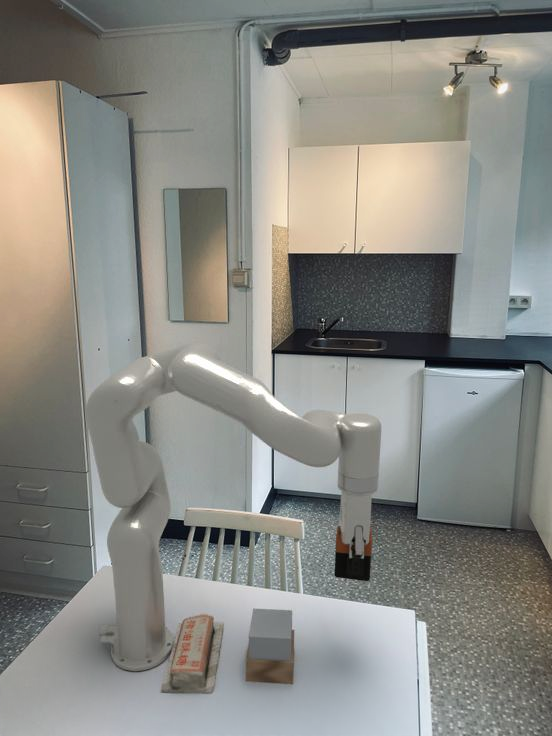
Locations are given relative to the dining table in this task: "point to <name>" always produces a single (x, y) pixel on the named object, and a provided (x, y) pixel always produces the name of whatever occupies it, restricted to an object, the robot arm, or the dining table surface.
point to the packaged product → (194, 656)
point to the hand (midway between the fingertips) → (353, 565)
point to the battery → (341, 558)
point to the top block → (270, 635)
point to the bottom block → (270, 669)
